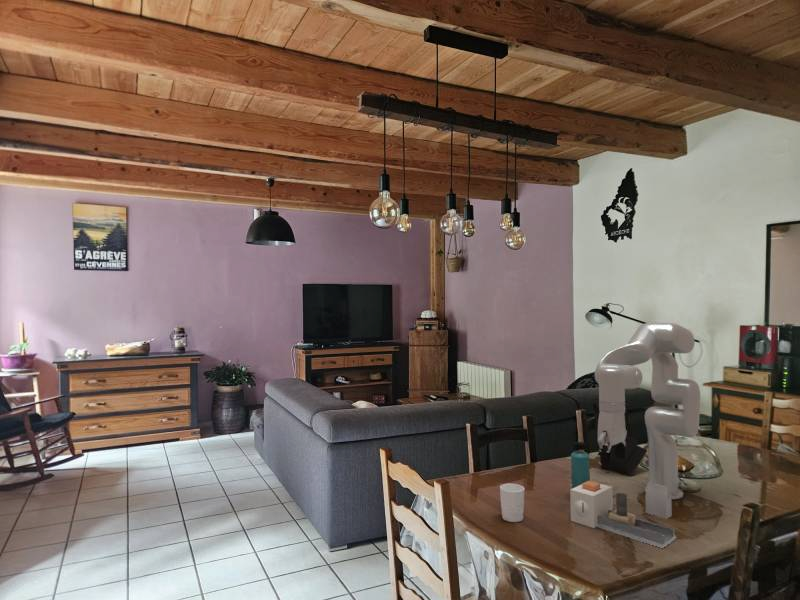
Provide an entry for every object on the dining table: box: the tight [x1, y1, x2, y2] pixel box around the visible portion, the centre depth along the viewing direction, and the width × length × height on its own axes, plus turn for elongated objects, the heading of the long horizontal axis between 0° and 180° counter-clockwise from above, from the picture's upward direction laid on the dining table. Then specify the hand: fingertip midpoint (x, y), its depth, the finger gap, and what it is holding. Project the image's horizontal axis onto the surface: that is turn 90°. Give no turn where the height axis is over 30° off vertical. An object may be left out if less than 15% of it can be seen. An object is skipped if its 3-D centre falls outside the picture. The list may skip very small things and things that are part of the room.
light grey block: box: [644, 481, 673, 520], centre depth 170 cm, size 4×7×10 cm, turn 39°
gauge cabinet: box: [569, 483, 614, 529], centre depth 167 cm, size 12×8×10 cm, turn 131°
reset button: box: [582, 480, 601, 492], centre depth 168 cm, size 4×4×4 cm
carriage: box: [609, 492, 636, 526], centre depth 160 cm, size 5×6×9 cm
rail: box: [596, 510, 677, 549], centre depth 157 cm, size 9×20×3 cm, turn 41°
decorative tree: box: [592, 403, 648, 477], centre depth 214 cm, size 15×15×35 cm
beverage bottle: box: [570, 441, 591, 489], centre depth 186 cm, size 6×7×20 cm
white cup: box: [499, 483, 525, 523], centre depth 170 cm, size 8×8×10 cm
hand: (613, 461), depth 162 cm, fingers open, 9 cm apart
